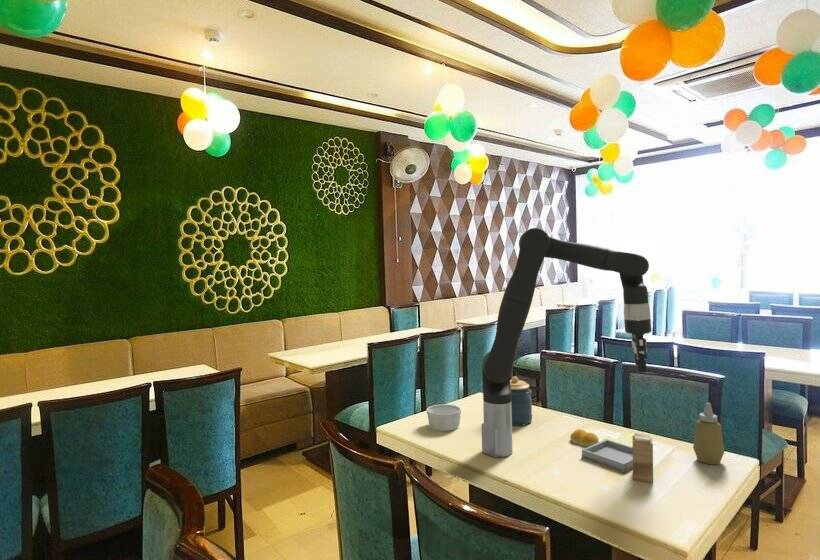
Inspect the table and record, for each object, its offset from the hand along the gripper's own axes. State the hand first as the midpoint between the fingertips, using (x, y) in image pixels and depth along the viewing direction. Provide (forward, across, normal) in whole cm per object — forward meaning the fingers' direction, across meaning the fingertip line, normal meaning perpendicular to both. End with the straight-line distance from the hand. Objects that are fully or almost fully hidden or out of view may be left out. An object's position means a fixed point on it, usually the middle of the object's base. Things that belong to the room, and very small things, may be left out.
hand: (640, 368), depth 148 cm
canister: (+26, -23, -44) cm, 56 cm away
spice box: (+28, +16, -3) cm, 32 cm away
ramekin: (+25, -8, -69) cm, 74 cm away
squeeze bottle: (+29, -1, +17) cm, 34 cm away
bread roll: (+28, -7, -19) cm, 34 cm away
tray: (+28, +5, -10) cm, 30 cm away
